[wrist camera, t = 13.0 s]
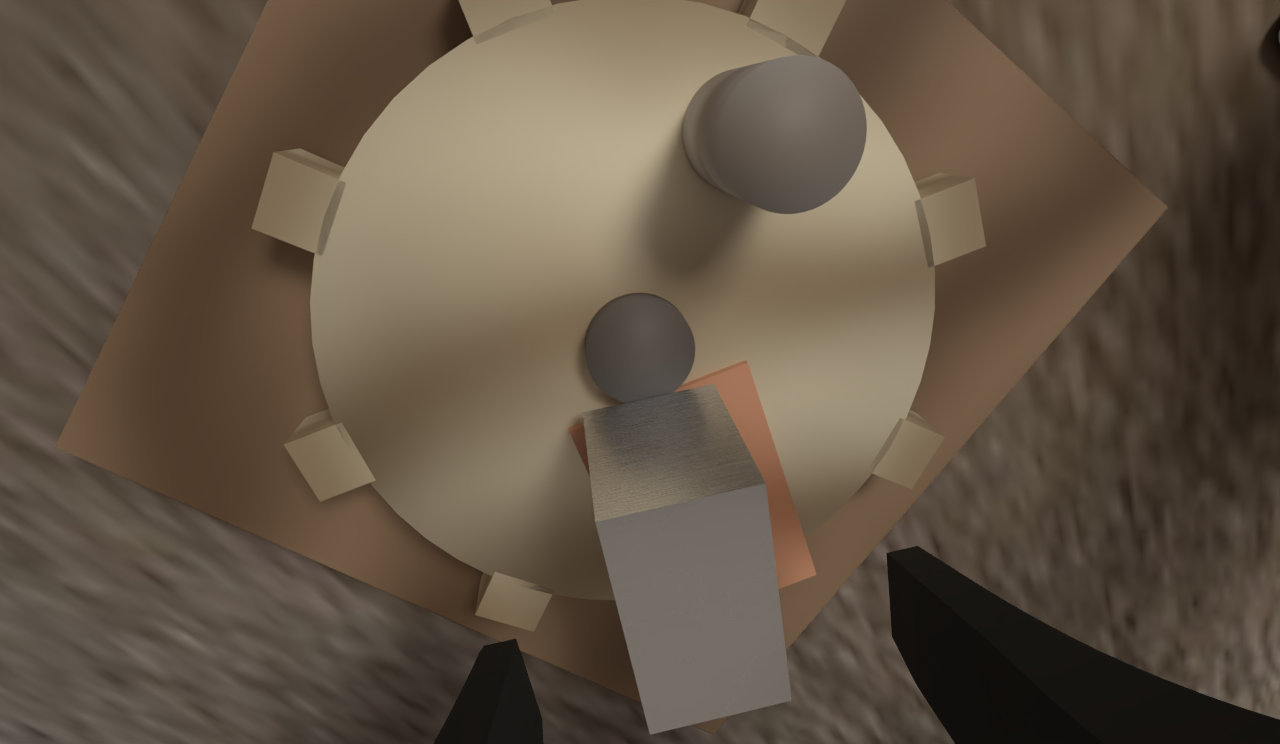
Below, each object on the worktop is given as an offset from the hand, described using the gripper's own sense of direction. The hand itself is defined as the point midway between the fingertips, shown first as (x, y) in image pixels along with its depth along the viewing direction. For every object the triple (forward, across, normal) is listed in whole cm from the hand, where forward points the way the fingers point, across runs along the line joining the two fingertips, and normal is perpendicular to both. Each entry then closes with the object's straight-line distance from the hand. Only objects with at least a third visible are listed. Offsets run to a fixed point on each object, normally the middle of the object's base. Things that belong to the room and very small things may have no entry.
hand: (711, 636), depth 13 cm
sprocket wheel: (+6, 0, -4) cm, 8 cm away
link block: (+4, 0, -1) cm, 4 cm away
